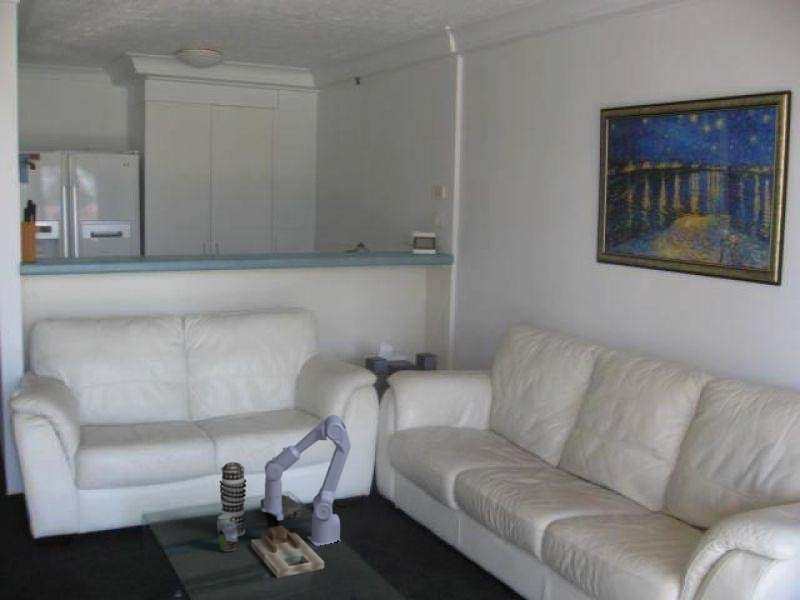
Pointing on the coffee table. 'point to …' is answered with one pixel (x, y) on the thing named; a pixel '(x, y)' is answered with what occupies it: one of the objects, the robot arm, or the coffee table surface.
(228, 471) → the decorative candle
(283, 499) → the geological specimen
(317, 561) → the deck
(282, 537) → the block
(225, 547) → the beverage can
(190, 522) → the coffee table surface
